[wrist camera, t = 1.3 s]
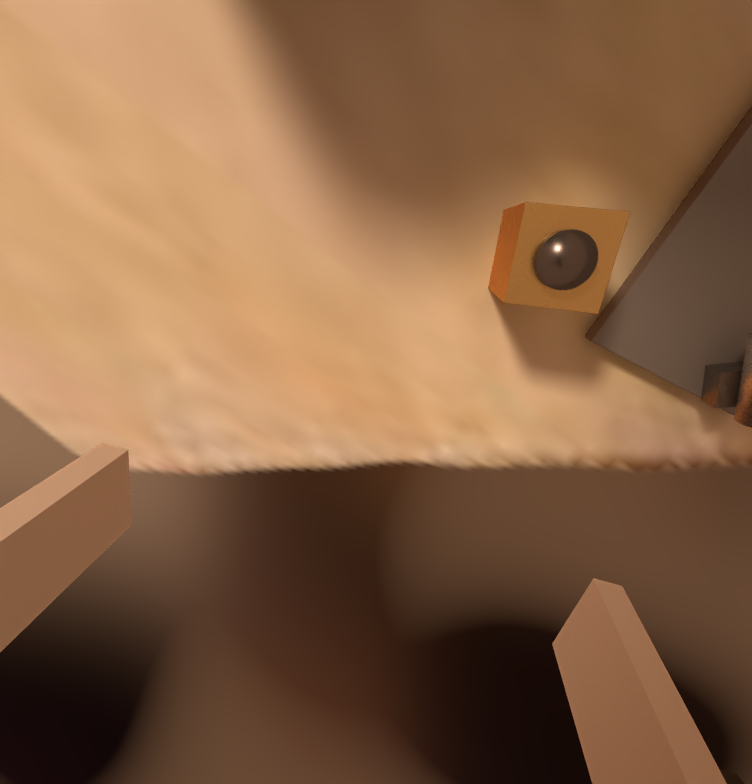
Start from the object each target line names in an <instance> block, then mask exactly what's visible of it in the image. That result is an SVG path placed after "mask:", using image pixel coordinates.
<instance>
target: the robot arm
mask: <svg viewBox="0 0 752 784" xmlns="http://www.w3.org/2000/svg"><path fill="white" fill-rule="evenodd" d="M130 525H131V507H130V480H129V456H128V450H127V449H123V448H119V447H116V446H112V445H109V444H105V443H101V444H100V445H98V446H97V447H95V448H94V449H92V450H90V451H89V452H87V453H86V454H84V455H83V456H81V457H79V458H78V459H76V460H75V461H73V462H72V463H70V464H69V465H67V466H65V467H64V468H62V469H61V470H59V471H58V472H56V473H55V474H53V475H51V476H50V477H48V478H47V479H46V480H44V481H42V482H41V483H39V484H38V485H36V486H34V487H33V488H31V489H30V490H28V491H27V492H25V493H23V494H22V495H20V496H19V497H17V498H16V499H14V500H12V501H11V502H9V503H8V504H6V505H5V506H3V507H2V508H0V652H1V651H2V650H3V649H4V648H5V647H6V646H7V645H8V644H9V643H10V642H11V641H12V640H13V639H14V638H15V637H16V636H17V635H18V634H19V633H20V632H21V631H22V630H24V629H25V628H26V627H27V626H28V625H29V624H30V623H31V622H32V621H33V620H34V619H35V618H36V617H37V616H38V615H39V614H40V613H41V612H42V611H43V610H44V609H45V608H46V607H47V606H48V605H49V604H50V603H51V602H52V601H53V600H54V599H55V598H56V597H57V596H58V595H60V593H62V592H63V591H64V590H65V589H66V588H67V587H68V586H69V585H70V584H71V583H72V582H73V581H74V580H75V579H76V578H77V577H78V576H79V575H80V574H81V573H82V572H83V571H84V570H85V569H86V568H87V567H88V566H89V565H90V564H91V563H92V562H93V561H94V560H95V559H96V558H98V557H99V556H100V554H102V553H103V552H104V551H105V550H106V549H107V548H108V547H109V546H110V545H111V544H112V543H113V542H114V541H115V540H116V539H117V538H118V537H119V536H120V535H121V534H122V533H123V532H124V531H125V530H126V529H127V528H128V527H129V526H130ZM552 645H553V648H554V652H555V655H556V659H557V662H558V666H559V669H560V673H561V676H562V680H563V683H564V687H565V690H566V694H567V697H568V701H569V704H570V708H571V711H572V715H573V718H574V721H575V725H576V728H577V732H578V736H579V739H580V742H581V746H582V750H583V753H584V756H585V760H586V763H587V767H588V770H589V774H590V777H591V781H592V784H744V783H743V781H742V780H741V779H740V778H739V776H738V775H737V774H734V773H730V772H727V771H724V770H720V769H719V768H718V766H717V765H716V763H715V761H714V759H713V757H712V755H711V753H710V751H709V749H708V747H707V746H706V744H705V742H704V740H703V738H702V736H701V734H700V732H699V730H698V729H697V727H696V725H695V723H694V721H693V719H692V718H691V715H690V713H689V712H688V710H687V708H686V706H685V704H684V702H683V701H682V699H681V696H680V695H679V693H678V691H677V689H676V687H675V685H674V683H673V681H672V680H671V678H670V676H669V674H668V672H667V670H666V668H665V666H664V664H663V662H662V661H661V659H660V657H659V655H658V653H657V651H656V649H655V647H654V645H653V643H652V642H651V640H650V638H649V636H648V634H647V632H646V630H645V628H644V626H643V625H642V623H641V621H640V619H639V617H638V615H637V613H636V611H635V610H634V608H633V606H632V604H631V602H630V600H629V598H628V596H627V594H626V592H625V591H624V589H623V587H622V586H620V585H616V584H613V583H609V582H606V581H602V580H598V579H595V578H594V579H593V580H592V582H591V583H590V585H589V586H588V588H587V589H586V591H585V593H584V594H583V596H582V598H581V599H580V601H579V602H578V604H577V605H576V607H575V609H574V610H573V612H572V613H571V615H570V616H569V618H568V620H567V621H566V623H565V624H564V626H563V628H562V629H561V631H560V632H559V634H558V636H557V637H556V639H555V640H554V642H553V644H552Z"/></svg>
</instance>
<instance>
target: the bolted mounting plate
mask: <svg viewBox="0 0 752 784" xmlns="http://www.w3.org/2000/svg"><path fill="white" fill-rule="evenodd" d="M751 332H752V107H751V109H750V110H749V111H748V113H747V114H746V116H745V117H744V118H743V120H742V121H741V122H740V124H739V125H738V127H737V128H736V129H735V131H734V132H733V133H732V135H731V136H730V138H729V139H728V140H727V142H726V143H725V144H724V146H723V147H722V149H721V150H720V151H719V153H718V154H717V155H716V157H715V158H714V160H713V161H712V162H711V164H710V165H709V166H708V168H707V169H706V171H705V172H704V173H703V175H702V176H701V177H700V179H699V180H698V182H697V183H696V184H695V186H694V187H693V188H692V190H691V191H690V193H689V194H688V195H687V197H686V198H685V199H684V201H683V202H682V204H681V205H680V206H679V208H678V209H677V210H676V212H675V213H674V215H673V216H672V217H671V219H670V220H669V221H668V223H667V224H666V226H665V227H664V228H663V230H662V231H661V232H660V234H659V235H658V237H657V238H656V239H655V241H654V242H653V243H652V245H651V246H650V248H649V249H648V250H647V252H646V253H645V254H644V256H643V257H642V259H641V260H640V261H639V263H638V264H637V265H636V267H635V268H634V270H633V271H632V272H631V274H630V275H629V276H628V278H627V279H626V281H625V282H624V283H623V285H622V286H621V287H620V289H619V290H618V292H617V293H616V294H615V296H614V297H613V298H612V300H611V301H610V303H609V304H608V305H607V307H606V308H605V309H604V311H603V312H602V314H601V315H600V316H599V318H598V319H597V320H596V322H595V323H594V325H593V326H592V327H591V329H590V330H589V331H588V333H587V334H586V336H585V337H586V338H587V339H589V340H590V341H592V342H594V343H596V344H598V345H600V346H602V347H604V348H605V349H607V350H609V351H611V352H613V353H615V354H617V355H619V356H621V357H623V358H625V359H627V360H629V361H631V362H632V363H634V364H636V365H638V366H640V367H642V368H644V369H646V370H648V371H650V372H652V373H654V374H656V375H658V376H659V377H661V378H663V379H665V380H667V381H669V382H671V383H673V384H675V385H677V386H679V387H681V388H683V389H685V390H686V391H688V392H690V393H692V394H694V395H696V396H698V397H700V398H701V393H702V386H703V379H704V371H705V365H711V364H721V363H731V362H740V361H744V357H745V351H746V345H747V339H748V334H749V333H751ZM721 409H723V410H725V411H727V412H729V413H731V414H733V415H735V410H736V407H726V408H721Z"/></svg>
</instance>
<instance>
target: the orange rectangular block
mask: <svg viewBox="0 0 752 784" xmlns="http://www.w3.org/2000/svg"><path fill="white" fill-rule="evenodd" d="M629 214H630V212H625V211H615V210H604V209H593V208H583V207H572V206H561V205H550V204H540V203H529V202H525V203H522V204H519V205H517V206H514V207H511V208H508V209H505V210H504V211H503V216H502V221H501V226H500V231H499V236H498V241H497V246H496V251H495V256H494V261H493V266H492V271H491V276H490V281H489V286H488V288H489V289H490V290H491V291H492V292H493V293H494V294H495V295H496V296H497V297H498V298H499V299H500V300H501V301H502V302H503V303H509V304H518V305H526V306H535V307H544V308H552V309H561V310H569V311H578V312H587V313H595V314H598V313H599V310H600V307H601V303H602V300H603V297H604V294H605V291H606V287H607V284H608V281H609V278H610V275H611V271H612V268H613V265H614V262H615V259H616V256H617V252H618V249H619V246H620V243H621V240H622V236H623V233H624V230H625V227H626V224H627V220H628V217H629Z"/></svg>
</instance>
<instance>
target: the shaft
mask: <svg viewBox="0 0 752 784" xmlns="http://www.w3.org/2000/svg"><path fill="white" fill-rule="evenodd" d="M701 400H703V401H704V402H706V403H708V404H709V405H711V406H713V407H714V408H726V407H736V410H735V416H734V418H735V420H736V421H737V422H739V423H740V424H743V425H745V426H748V427H752V332H751V333H749V334H748V339H747V345H746V351H745V357H744V361H740V362H731V363H721V364H711V365H705V371H704V379H703V386H702V393H701Z"/></svg>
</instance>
